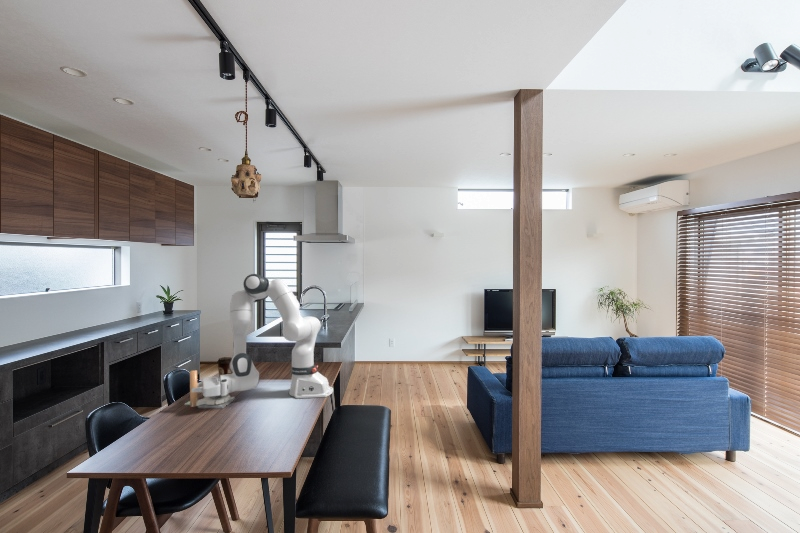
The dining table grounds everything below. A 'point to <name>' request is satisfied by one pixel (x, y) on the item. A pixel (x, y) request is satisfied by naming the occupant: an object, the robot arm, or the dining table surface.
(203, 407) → the plinth
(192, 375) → the peg stand
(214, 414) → the dining table surface
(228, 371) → the coffee cup
